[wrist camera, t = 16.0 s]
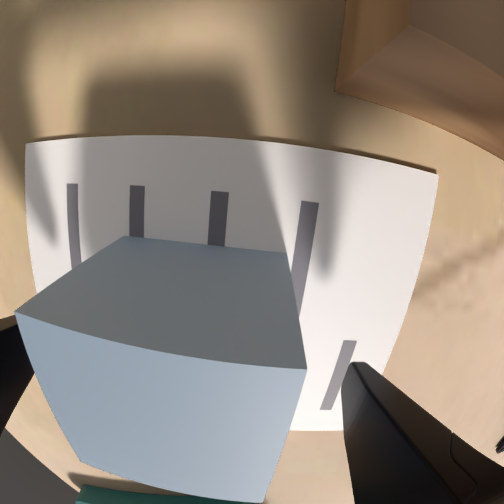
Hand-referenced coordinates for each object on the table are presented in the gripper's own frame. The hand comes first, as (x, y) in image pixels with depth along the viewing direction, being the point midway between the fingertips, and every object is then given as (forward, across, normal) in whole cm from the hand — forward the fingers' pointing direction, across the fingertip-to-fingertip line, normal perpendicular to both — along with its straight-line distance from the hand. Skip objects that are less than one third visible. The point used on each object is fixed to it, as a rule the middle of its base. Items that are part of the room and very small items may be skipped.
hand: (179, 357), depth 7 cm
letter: (+2, 0, 0) cm, 2 cm away
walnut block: (+2, -8, -9) cm, 12 cm away
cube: (+2, 0, 0) cm, 2 cm away
